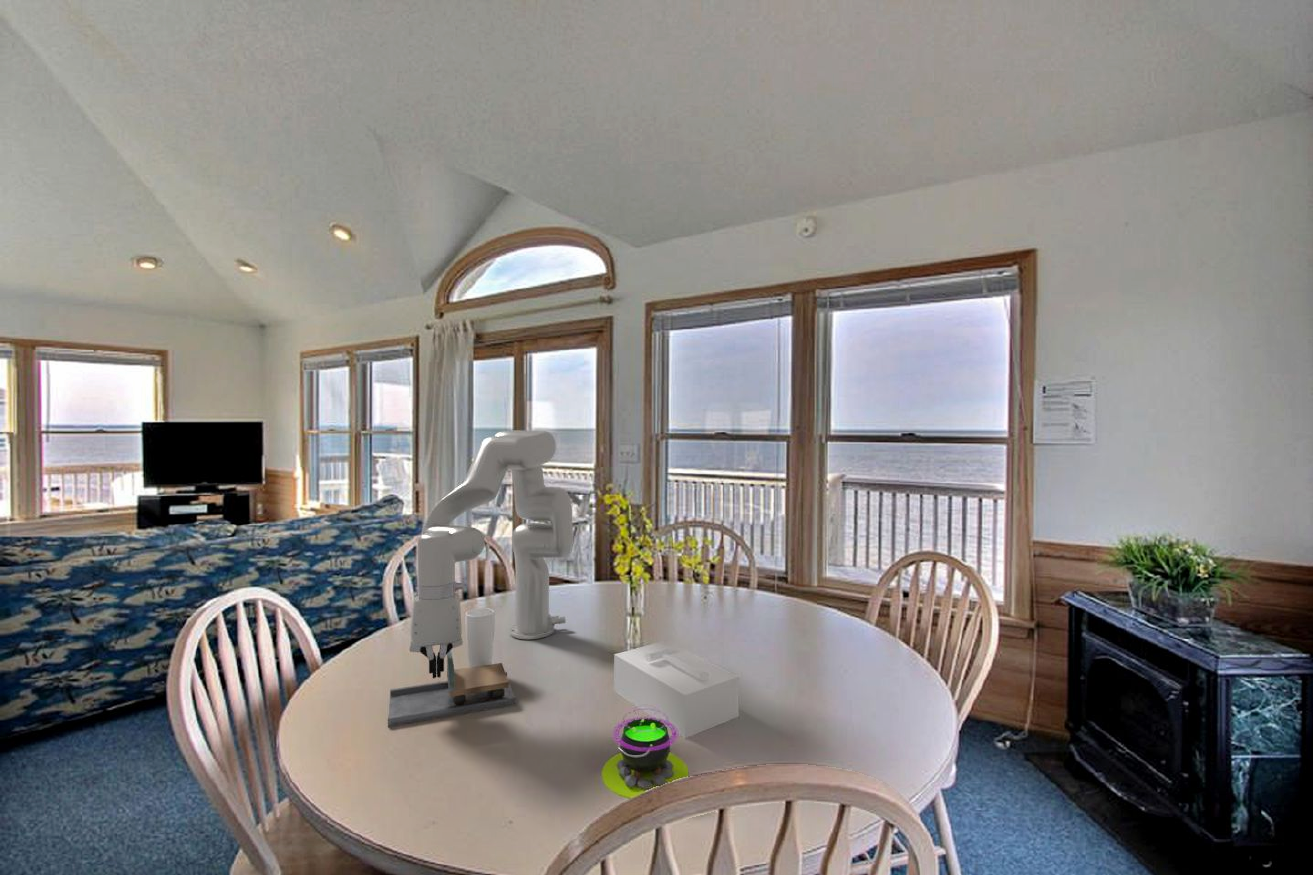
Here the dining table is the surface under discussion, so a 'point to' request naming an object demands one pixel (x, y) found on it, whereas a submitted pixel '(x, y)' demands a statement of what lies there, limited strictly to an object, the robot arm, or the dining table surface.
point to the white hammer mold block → (677, 687)
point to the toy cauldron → (643, 757)
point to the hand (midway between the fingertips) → (436, 675)
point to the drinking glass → (479, 636)
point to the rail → (439, 703)
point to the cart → (475, 680)
